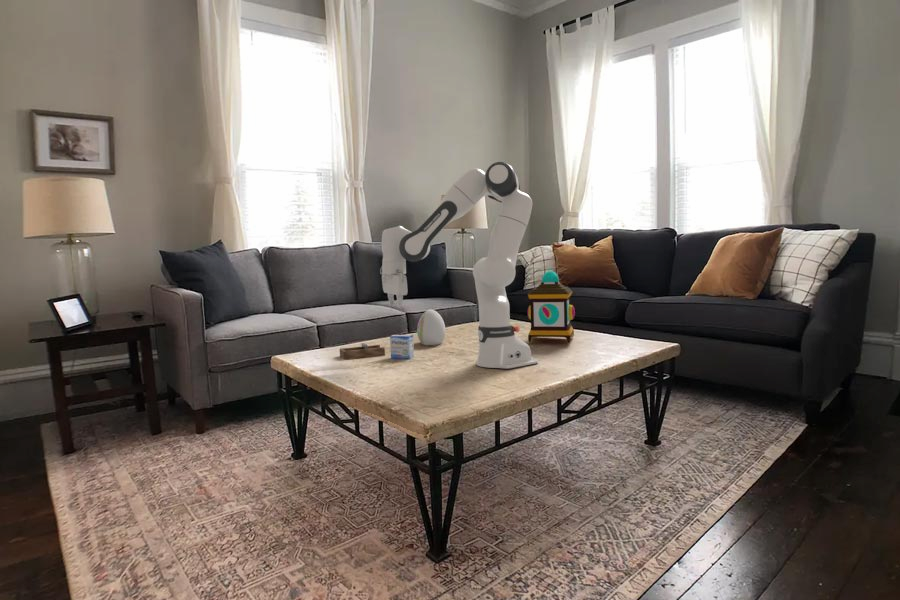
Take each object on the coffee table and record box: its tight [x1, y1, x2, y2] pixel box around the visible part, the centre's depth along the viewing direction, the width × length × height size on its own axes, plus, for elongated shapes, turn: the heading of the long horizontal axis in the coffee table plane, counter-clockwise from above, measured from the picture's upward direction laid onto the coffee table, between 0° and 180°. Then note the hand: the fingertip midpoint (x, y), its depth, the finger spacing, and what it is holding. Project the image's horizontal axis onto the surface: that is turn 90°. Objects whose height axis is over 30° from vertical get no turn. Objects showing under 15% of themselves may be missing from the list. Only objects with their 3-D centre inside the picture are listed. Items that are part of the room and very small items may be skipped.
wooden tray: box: [339, 344, 386, 360], centre depth 214 cm, size 16×8×3 cm, turn 113°
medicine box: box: [389, 334, 415, 360], centre depth 206 cm, size 8×4×9 cm, turn 73°
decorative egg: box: [416, 309, 447, 346], centre depth 235 cm, size 12×12×15 cm
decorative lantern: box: [527, 270, 576, 345], centre depth 233 cm, size 20×20×30 cm
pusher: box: [361, 342, 368, 349], centre depth 214 cm, size 1×5×4 cm, turn 23°
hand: (395, 306), depth 206 cm, fingers open, 8 cm apart
